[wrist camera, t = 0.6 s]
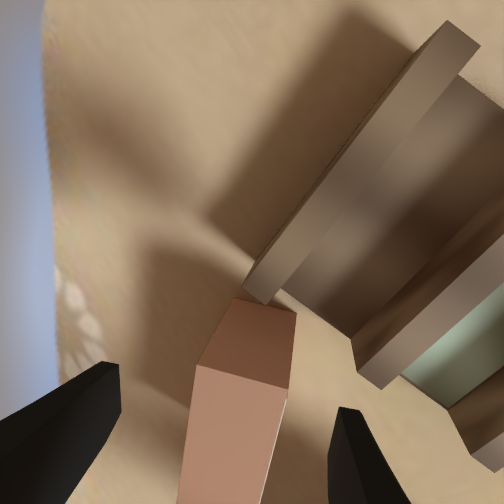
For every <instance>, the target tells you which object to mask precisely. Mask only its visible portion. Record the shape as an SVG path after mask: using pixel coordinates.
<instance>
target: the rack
mask: <svg viewBox="0 0 504 504" xmlns="http://www.w3.org/2000/svg"><path fill="white" fill-rule="evenodd" d="M480 47H481V46H480V45H479V44H478V43H477V42H475V41H474V40H473V39H471V38H470V37H469V36H467V35H466V34H465V33H464V32H462V31H461V30H460V29H458V28H457V27H456V26H455V25H453V24H452V23H451V22H449V21H448V20H447V21H446V22H445V23H444V24H443V25H442V26H441V27H440V28H439V29H438V30H437V31H436V32H435V33H434V34H433V35H432V36H431V37H430V38H429V39H428V40H427V41H426V42H425V43H424V44H423V45H422V46H421V47H420V48H419V49H418V50H417V51H416V52H415V53H414V54H413V55H412V57H411V58H410V59H409V61H408V62H407V63H406V65H405V66H404V67H403V68H402V70H401V71H400V72H399V74H398V75H397V76H396V78H395V79H394V80H393V82H392V83H391V84H390V85H389V87H388V88H387V89H386V91H385V92H384V93H383V95H382V96H381V97H380V99H379V100H378V101H377V103H376V104H375V105H374V106H373V108H372V109H371V110H370V112H369V113H368V114H367V116H366V117H365V118H364V120H363V121H362V122H361V123H360V125H359V126H358V127H357V129H356V130H355V131H354V133H353V134H352V135H351V137H350V138H349V139H348V140H347V142H346V143H345V144H344V146H343V147H342V148H341V150H340V151H339V152H338V154H337V155H336V156H335V157H334V159H333V160H332V161H331V163H330V164H329V165H328V167H327V168H326V169H325V171H324V172H323V173H322V175H321V176H320V177H319V178H318V180H317V181H316V182H315V184H314V185H313V186H312V188H311V189H310V190H309V192H308V193H307V194H306V195H305V197H304V198H303V199H302V201H301V202H300V203H299V205H298V206H297V207H296V209H295V210H294V211H293V212H292V214H291V215H290V216H289V218H288V219H287V220H286V222H285V223H284V224H283V226H282V227H281V228H280V230H279V231H278V232H277V233H276V235H275V236H274V237H273V239H272V240H271V241H270V243H269V244H268V245H267V247H266V248H265V249H264V250H263V252H262V253H261V254H260V256H259V257H258V258H257V260H256V261H255V263H254V264H253V266H252V268H251V270H250V272H249V273H248V275H247V277H246V279H245V281H244V282H243V284H242V286H241V288H243V289H244V290H245V291H247V292H248V293H249V294H251V295H252V296H254V297H255V298H256V299H258V300H259V301H260V302H262V303H263V304H264V305H267V304H268V303H269V301H270V300H271V299H272V298H273V296H274V295H275V294H276V293H277V292H278V290H279V289H280V288H281V289H283V290H284V291H286V292H287V293H288V294H290V295H291V296H292V297H294V298H295V299H296V300H298V301H299V302H300V303H302V304H303V305H305V306H306V307H307V308H309V309H310V310H311V311H313V312H314V313H315V314H317V315H318V316H320V317H321V318H322V319H324V320H325V321H326V322H328V323H329V324H330V325H332V326H333V327H334V328H336V329H337V330H339V331H340V332H341V333H343V334H344V335H345V336H347V337H348V338H349V339H351V344H352V349H353V355H354V360H355V365H356V370H357V373H359V374H360V375H361V376H363V377H364V378H366V379H367V380H368V381H370V382H371V383H372V384H374V385H375V386H376V387H378V388H379V389H381V390H382V389H383V388H384V387H386V386H387V385H388V384H389V383H390V382H391V381H392V380H393V379H395V378H396V377H397V376H398V375H400V376H401V377H403V378H404V379H405V380H407V381H408V382H409V383H411V384H412V385H413V386H415V387H416V388H417V389H419V390H420V391H422V392H423V393H424V394H426V395H427V396H428V397H430V398H431V399H432V400H434V401H435V402H437V403H438V404H439V405H441V406H442V407H443V408H445V409H446V410H447V411H448V413H449V415H450V417H451V419H452V421H453V422H454V424H455V426H456V428H457V430H458V432H459V434H460V436H461V438H462V440H463V442H464V444H465V446H466V448H467V450H468V452H469V454H470V455H471V456H472V457H473V458H475V459H476V460H477V461H479V462H480V463H482V464H483V465H484V466H486V467H487V468H488V469H490V470H491V471H492V472H494V473H495V472H497V471H498V470H500V469H501V468H503V467H504V109H502V108H501V107H500V106H498V105H497V104H496V103H495V102H493V101H492V100H491V99H489V98H488V97H487V96H485V95H484V94H483V93H482V92H480V91H479V90H478V89H476V88H475V87H474V86H472V85H471V84H470V83H468V82H467V81H466V80H465V79H463V78H462V77H461V76H459V75H458V73H459V72H460V71H461V70H462V68H463V67H464V66H465V65H466V63H467V62H468V61H469V60H470V59H471V57H472V56H473V55H474V54H475V53H476V51H477V50H478V49H479V48H480Z"/></svg>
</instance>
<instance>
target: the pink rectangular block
mask: <svg viewBox="0 0 504 504" xmlns="http://www.w3.org/2000/svg"><path fill="white" fill-rule="evenodd" d="M296 316H297V313H294V312H290V311H286V310H282V309H278V308H274V307H270V306H266V305H261V304H257V303H253V302H249V301H245V300H241V299H237V298H233V300H232V302H231V304H230V306H229V307H228V309H227V311H226V313H225V314H224V316H223V318H222V320H221V322H220V323H219V325H218V327H217V329H216V331H215V332H214V334H213V336H212V338H211V340H210V341H209V343H208V345H207V347H206V348H205V350H204V352H203V354H202V356H201V357H200V359H199V361H198V363H197V365H196V372H195V378H194V385H193V392H192V399H191V406H190V413H189V420H188V427H187V434H186V441H185V448H184V454H183V461H182V468H181V475H180V482H179V489H178V496H177V503H176V504H260V501H261V497H262V493H263V490H264V486H265V482H266V478H267V474H268V470H269V466H270V462H271V459H272V455H273V451H274V447H275V443H276V439H277V435H278V432H279V428H280V424H281V420H282V416H283V412H284V408H285V405H286V401H287V394H288V388H289V379H290V370H291V361H292V352H293V343H294V334H295V325H296Z"/></svg>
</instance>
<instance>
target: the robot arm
mask: <svg viewBox="0 0 504 504" xmlns="http://www.w3.org/2000/svg"><path fill="white" fill-rule="evenodd" d="M120 414H121V394H120V377H119V364H115V363H109V362H104V361H101V362H99V363H97V364H96V365H94V366H92V367H91V368H89V369H87V370H86V371H84V372H82V373H81V374H79V375H78V376H76V377H74V378H73V379H71V380H69V381H68V382H66V383H65V384H63V385H61V386H60V387H58V388H56V389H55V390H53V391H51V392H50V393H48V394H46V395H45V396H43V397H41V398H40V399H38V400H36V401H35V402H33V403H31V404H29V405H28V406H26V407H24V408H22V409H21V410H19V411H17V412H15V413H13V414H11V415H10V416H8V417H6V418H4V419H3V420H1V421H0V504H65V502H66V501H67V500H68V498H69V497H70V495H71V494H72V492H73V491H74V489H75V488H76V486H77V485H78V483H79V482H80V480H81V479H82V477H83V476H84V474H85V473H86V471H87V470H88V468H89V467H90V465H91V464H92V462H93V461H94V459H95V458H96V456H97V455H98V453H99V452H100V450H101V449H102V447H103V446H104V444H105V443H106V441H107V439H108V437H109V435H110V433H111V432H112V430H113V428H114V426H115V424H116V422H117V420H118V418H119V416H120ZM328 498H329V504H411V502H410V501H409V499H408V498H407V496H406V494H405V493H404V491H403V489H402V488H401V486H400V484H399V482H398V481H397V479H396V477H395V475H394V474H393V472H392V470H391V469H390V467H389V465H388V463H387V461H386V460H385V458H384V456H383V454H382V452H381V450H380V449H379V447H378V445H377V443H376V441H375V439H374V437H373V435H372V433H371V431H370V429H369V427H368V425H367V423H366V421H365V419H364V417H363V415H362V413H361V412H360V410H355V409H350V408H345V407H339V409H338V413H337V417H336V421H335V426H334V430H333V434H332V438H331V443H330V447H329V451H328Z"/></svg>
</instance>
